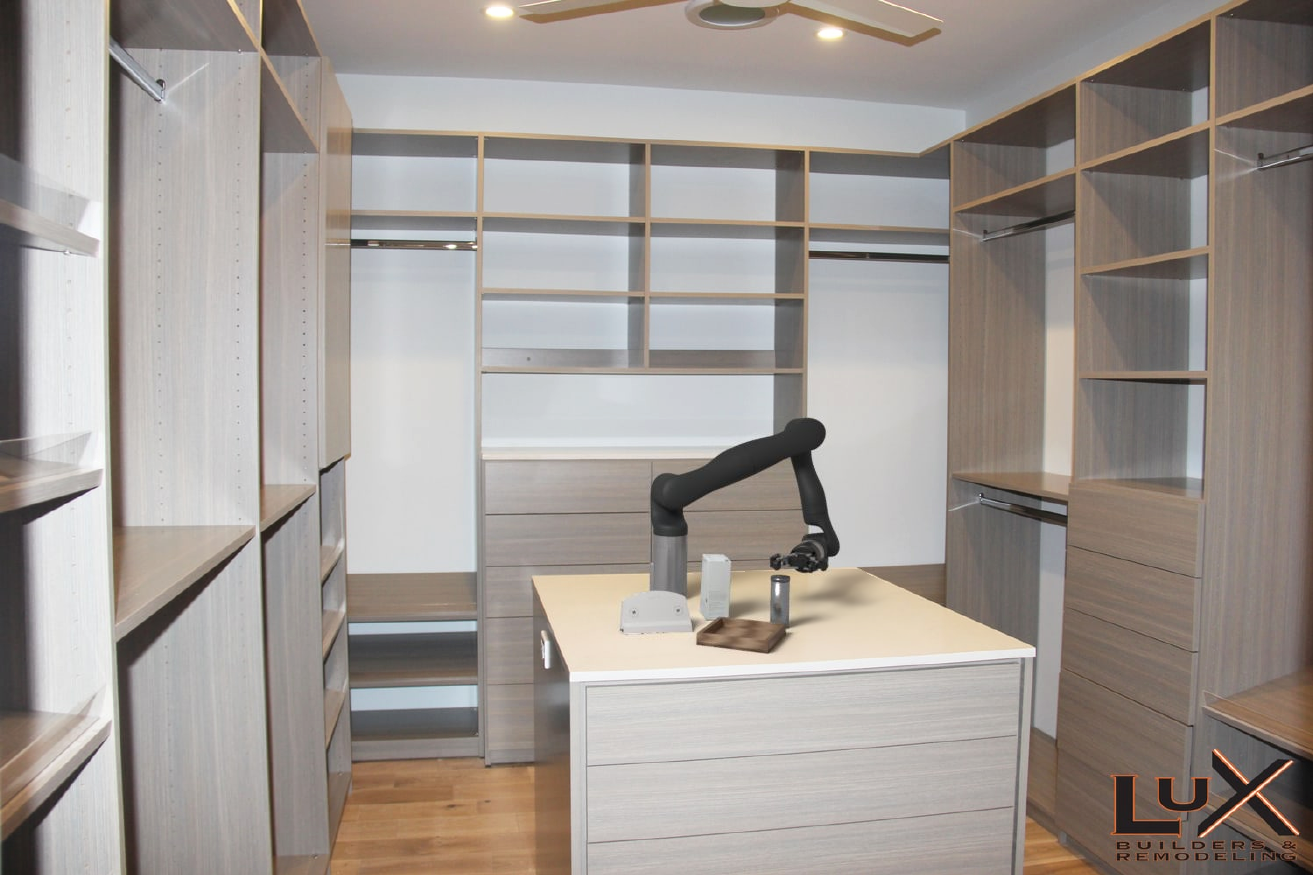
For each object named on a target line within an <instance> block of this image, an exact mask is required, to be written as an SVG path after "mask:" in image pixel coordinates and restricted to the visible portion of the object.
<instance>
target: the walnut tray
mask: <svg viewBox="0 0 1313 875" xmlns="http://www.w3.org/2000/svg"><path fill="white" fill-rule="evenodd" d="M786 633H787V629H786V624H782V623H773V622H770V621H763V620H753V619H745V618H735V617H730V616H729V617H720V616H719V617H718V618H716V619H715V620H711V622H710V623H708V624H707V625H706V626H704V627H703V628H702V629H700V630H699V631H698V632H696V638H695V640H696V641H695V642H696V643H695V644H696V646H704V647H705V646H706V647H712V646H713V648H719V649H720V648H721V649H729V650H738V651H745V652H754V653H760V654H769V653H770V651H772V650H773V648H774V647H775V646H777V645H778V643H779V642H780V641H781V640H782V639H783V638H785V636H786V635H787V634H786Z"/></svg>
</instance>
